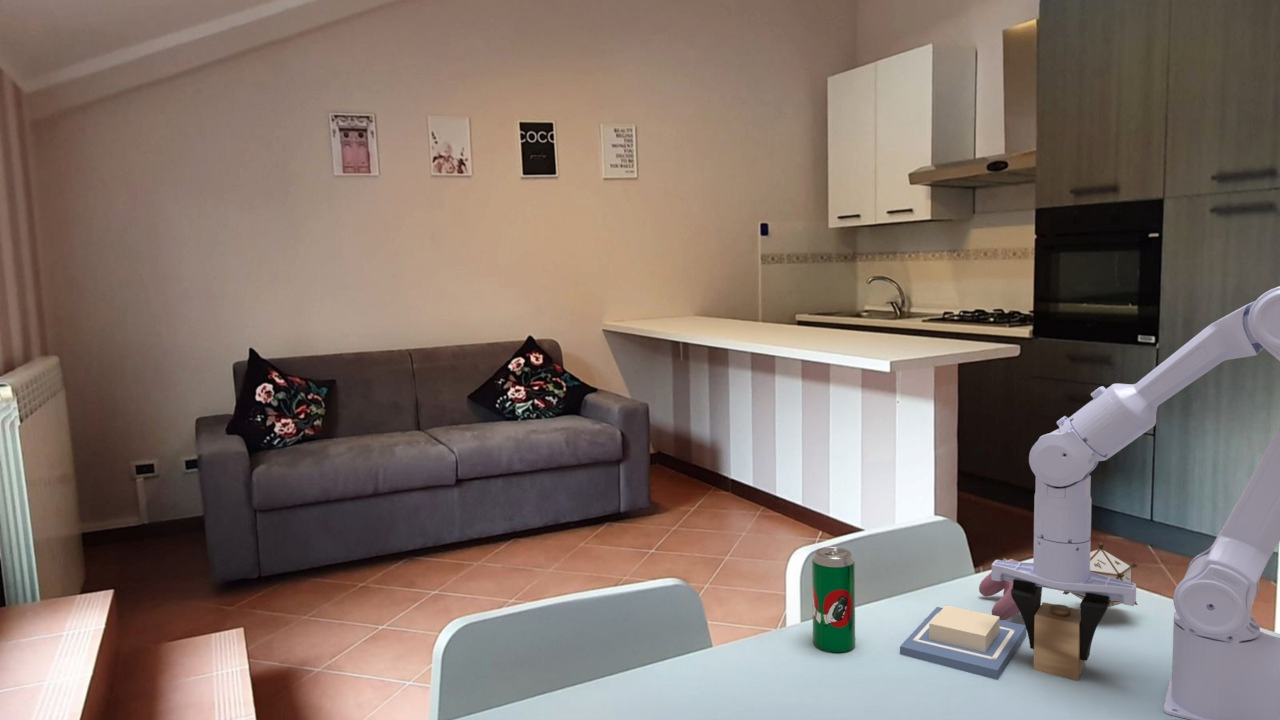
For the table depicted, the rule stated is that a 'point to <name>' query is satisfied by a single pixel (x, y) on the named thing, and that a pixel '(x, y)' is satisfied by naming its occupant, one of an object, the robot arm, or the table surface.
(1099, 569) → the game die
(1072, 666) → the oak block
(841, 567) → the soda can
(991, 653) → the blueprint board
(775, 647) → the table surface
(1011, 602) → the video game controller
